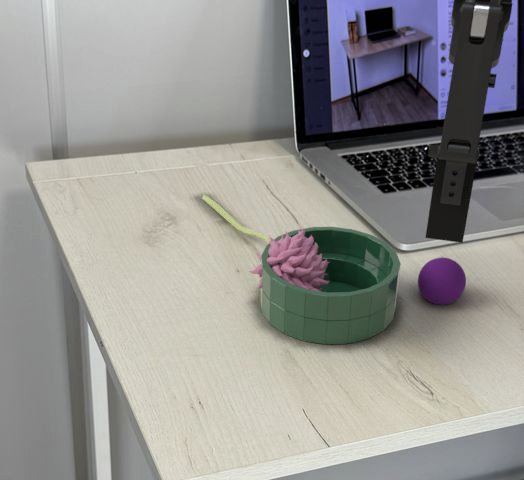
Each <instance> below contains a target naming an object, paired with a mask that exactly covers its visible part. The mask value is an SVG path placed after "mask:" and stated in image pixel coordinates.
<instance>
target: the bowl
mask: <svg viewBox="0 0 524 480" xmlns="http://www.w3.org/2000/svg"><path fill="white" fill-rule="evenodd" d="M299 230H300V232H301V231H302V230H303V228H300V229H294V230H291V231H288V232H287V233H288V235H289V237H291V238H292V237H293V236H295V235H297V234H298V233H299ZM304 230H305V235H304V237H306V238H309V237H310V236H311V235H312V237H313V238H314V242H313V244H312V245H315V243H317V245H318V246H319V247H318V252H317V253H316V255H320V254H322V255H321V256H322V262H323V261H325V260H326V259H327V262H330V263H328V264H327V268H326V270H325V272H324V273H326V274H328V275H325V276H324V278H323V280H325V281H330V282H329V283H328V284H327V285H324V286H321V287H319V288H322V290H321V291H314V290H308V289H305V288H302V287H299V286H296V285H293V284H290V283H289V282H287V281H285V280H284V279H282V278H281V277H279V276H277V275H276V273H275V272H274V271H273V270H272V268H271V267H270V264H269V263H268V262H267V259H268V258H269V253H268V251H269V249H270V243H269V244H268V243H267V244H266V246H265V247H264V249H263V251H262V254H260V255H261V262H260V264H261V278H260V279H262V288H260V307H261V308H260V309H261V313H262V315H263V317H264V318H265V319H266V320H267V322H268V323H269V325H271V326H272V327H273V328H275V329H276V330H277V331H279V332H281V333H283V334H284V335H286V336H288V337H291V338H295V339H297V340H300V341H303V342H308V343H315V344H322V345H342V344H343V345H347V344H351V343H356V342H361V341H366V340H368V339H370V338H373V337H374V336H376V335H378V334H381V333H382V332H383V331H385V330H386V328H387V327H389V325H390V324H391V323H392V322H393V320H394V316H395V312H396V307H397V300H398V290H399V283H400V274H401V264H402V263H401V260H400V258H399V255H398V253H397V251H396V250H395V249H394V248H393V247H392V246H390V245H389V243H387V242H386V241H384V240H382V239H380V238H378V237H376V236H374V235H373V234H370V233H366V232H363V231H360V230H356V229H352V228H345V227H337V226H312V227H305V228H304ZM282 235H283V237H284V239H285V237H286V233H283V234H281V235H278V236H277V237H275V238H273V239H274V240H275V241H276V242H277V241H279V240H280V239H281V238H282Z"/></svg>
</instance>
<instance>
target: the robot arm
mask: <svg viewBox="0 0 524 480" xmlns="http://www.w3.org/2000/svg"><path fill="white" fill-rule="evenodd" d="M512 10H513V0H453V4H452V10H451V19H450V24H451V26H452V32H451V39H450V44H449V51H448V61H449V62H450V63H451V64H452V71H451V77H450V82H449V90H448V96H447V103H446V107H445V108H446V109H445V114H444V120H443V127H442V133H441V140H440V144H438V145H436V144H429V146H428V153H427V157H429V158H436V164H435V171H434V178H433V184H432V189H431V190H432V191H431V198H430V204H429V211H428V216H427V217H428V218H427V224H426V231H425V239H431V240H439V241H446V242H453V243H461V244H463V242H464V238H465V237H464V236H465V232H466V226H467V221H468V220H467V219H468V215H469V209H470V203H471V198H472V191H473V187H474V180H475V174H476V169H477V165H478V159H479V158H480V149H479V145H480V143H479V142H480V138H481V132H482V126H483V121H484V114H485V108H486V102H487V96H488V89H489V88H491V89H495V87H496V80H497V73H493V72H492V69H494V68H497V66H498V65H499V63H500V59H501V52H502V48H503V41H504V35H505V32H506V31H507V30H508V28H509V26H510V25H509V24H510V20H511V16H512Z"/></svg>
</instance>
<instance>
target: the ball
mask: <svg viewBox="0 0 524 480" xmlns="http://www.w3.org/2000/svg"><path fill="white" fill-rule="evenodd" d="M466 285H467V278H466V272H465V271H464V269H463V267H462V266H461V264H459V263H458V262H457V261H455V260H454V259H451V258H448V257H436V258H433V259H431V260H429V261H428V262H426V263H425V264H424V265H423V266H422V267H421V269H420V271H419V274H418V277H417V287H418V290H419V292H420V294H421V296H422V297H423V298H424V299H425V300H426V301H428V302H429V303H431V304H434V305H439V306H445V305H450V304H452V303H454V302H456V301H458V300H459V298H460V297H461V296H462V295H463V294H464V291H465V289H466Z"/></svg>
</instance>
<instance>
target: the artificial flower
mask: <svg viewBox="0 0 524 480" xmlns="http://www.w3.org/2000/svg"><path fill="white" fill-rule="evenodd" d="M201 199H202V200H203V201H204V202H206V203H207V205H209V206H210V207H211V208H212V209H213V210H214V211H216V212H217V214H219V215H220V216H221V217H222V218H224V219H225V220H226V221H227V222H228V223H229V224H231V226H233V227H234V228H235V229H236V230H238V231H239V232H241V233H243V234H244V235H246V236H251V237H256V238H259V239H261V240H263V241H265V242H266V243H267V245H268V244H269V243H270V249H269V251H268V253H269V258H268V259H267V262H268V263H269V264H270V267H271V268H272V270H273V271H274V272H275V273H276V275H277V276H279V277H281V278H282V279H284V280H285V281H287V282H289V283H290V284H293V285H296V286H299V287H302V288H305V289H308V290H314V291H321V290H322V288H319V287H321V286H324V285H327V284H328V283H329V282H330V281H325V280H323V278H324V276H325V275H328V274H326V273H324V272H325V270H326V268H327V264H328V263H330V262H327V259H326V260H325V261H323V262H322V256H321V255H322V254H320V255H316V253H317V252H318V247H319V246H318V245H317V243H315V245H312V244H313V242H314V238H313V237H312V235H311V236H310V237H309V238H306V237H304V235H305V230H304V229H305V228H304V227H303V228H302V229H303V230H302V231H301V232H300V230H299V229H298V230H299V233H298V234H297V235H295V236H293V237H292V238H291V237H289V235H288V232H287V231H285V234H286V237H285V239H284V237H283V234H281V235H282V238H281V239H280V240H279V241H277V242H276V241H275V240H274V239H275V238H272V237H271V236H269V237H268V236H267V235H264V234H263V233H261V232H258V231H256V230H253V229H250V228H247V227H245V226H243V225H242V224H241V223H240V222H239V221H237V220H236V218H234V217H233V216H232V215H231V214H230V213H228V211H226V210H225V209H224V208H223V207H222V206H221V205H220V204H219V203H217V202H216V201H215V200H214V199H212V198H211V197H210V196H209V195H207V194H203V195H202V197H201ZM255 254H256V256H257V258H258V260H259V262H260V264H258V265H257V266H256V267H255V268H254V269H253V270H249V271H248V272H249V273H251V274H253V275H258V276H259V278H260V279H259V284H258V286H257V288H256V289H258V290H259V289H261V288H262V279H261V255H262V254H260V253H256V252H255Z"/></svg>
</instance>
